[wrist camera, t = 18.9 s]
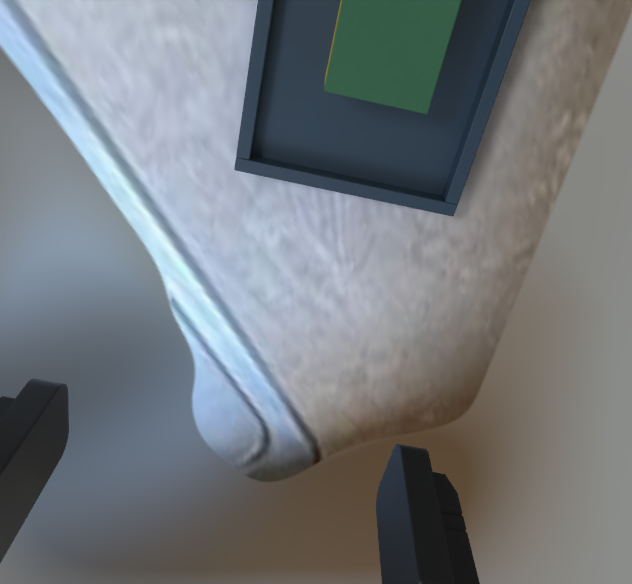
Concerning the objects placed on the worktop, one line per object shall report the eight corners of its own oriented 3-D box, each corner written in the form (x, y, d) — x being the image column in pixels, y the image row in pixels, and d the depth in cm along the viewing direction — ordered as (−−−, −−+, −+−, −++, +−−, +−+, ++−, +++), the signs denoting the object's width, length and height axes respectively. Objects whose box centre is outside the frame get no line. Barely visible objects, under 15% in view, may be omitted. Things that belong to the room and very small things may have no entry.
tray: (447, 204, 35) (453, 216, 34) (239, 160, 34) (234, 170, 33) (579, -179, 26) (599, -191, 24) (299, -256, 25) (296, -276, 23)
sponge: (416, 99, 31) (427, 114, 28) (324, 78, 31) (323, 91, 27) (463, -63, 28) (483, -70, 24) (358, -89, 27) (363, -101, 23)
